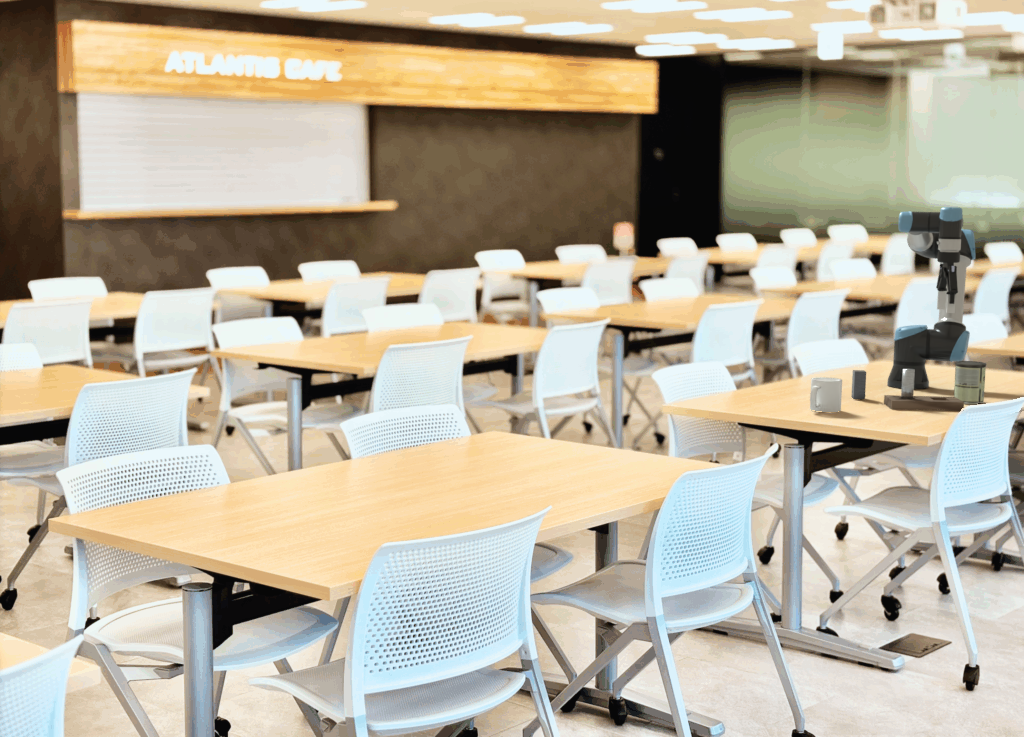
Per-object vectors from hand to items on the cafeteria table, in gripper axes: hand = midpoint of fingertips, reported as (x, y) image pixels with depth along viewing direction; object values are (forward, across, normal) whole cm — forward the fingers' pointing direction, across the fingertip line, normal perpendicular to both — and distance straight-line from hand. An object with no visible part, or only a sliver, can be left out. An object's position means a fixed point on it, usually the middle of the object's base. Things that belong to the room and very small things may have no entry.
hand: (945, 311), depth 469 cm
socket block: (+31, +20, -11) cm, 39 cm away
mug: (+31, +33, -47) cm, 65 cm away
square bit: (+31, +4, -30) cm, 43 cm away
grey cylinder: (+31, +20, -16) cm, 41 cm away
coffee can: (+32, +6, +8) cm, 33 cm away
